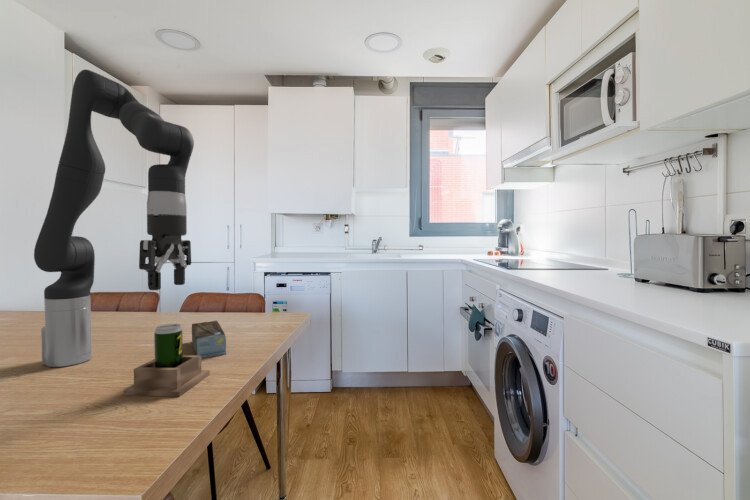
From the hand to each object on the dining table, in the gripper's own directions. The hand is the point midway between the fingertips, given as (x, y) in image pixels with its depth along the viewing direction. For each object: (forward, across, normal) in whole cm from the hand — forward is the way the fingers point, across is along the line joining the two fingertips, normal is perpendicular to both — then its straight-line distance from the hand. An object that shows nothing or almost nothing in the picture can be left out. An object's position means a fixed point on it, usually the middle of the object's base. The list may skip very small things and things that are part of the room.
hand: (167, 287), depth 79 cm
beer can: (+21, 0, 0) cm, 21 cm away
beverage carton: (+22, -27, -6) cm, 36 cm away
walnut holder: (+22, 0, 0) cm, 22 cm away
